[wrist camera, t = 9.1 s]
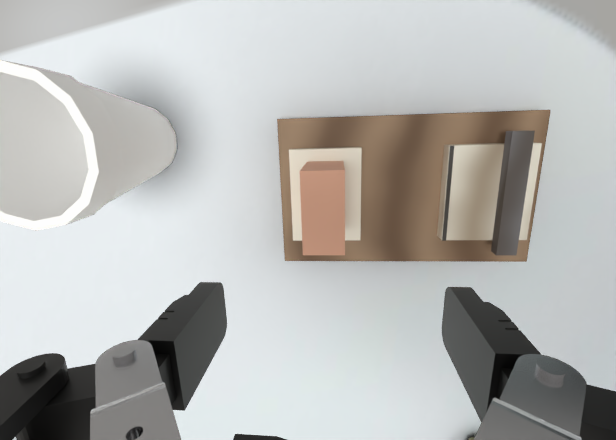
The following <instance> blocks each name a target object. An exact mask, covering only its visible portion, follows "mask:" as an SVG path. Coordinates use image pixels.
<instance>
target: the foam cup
mask: <svg viewBox="0 0 616 440" xmlns="http://www.w3.org/2000/svg"><path fill="white" fill-rule="evenodd" d="M176 151H177V141H176V133H175V131H174V129H173V128H172V126H171V124H170V122H169V120H168V119H167V118H166V117H165V116H163V115H162V114H161V113H160V112H158V111H157V110H156V109H153V108H151V107H149V106H146V105H143V104H140V103H137V102H134V101H131V100H128V99H126V98H123V97H120V96H117V95H114V94H111V93H108V92H105V91H103V90H100V89H97V88H94V87H91V86H88V85H85V84H82V83H80V82H78V81H77V80H75V79H74V78H73V77H72V76H69V75H65V74H61V73H57V72H54V71H50V70H46V69H42V68H38V67H33V66H28V65H23V64H18V63H13V62H7V61H2V60H0V220H1V221H2V222H5V223H9V224H13V225H16V226H20V227H24V228H28V229H32V230H35V231H37V230H42V229H47V228H52V227H57V226H62V225H67V224H70V223H72V222H75V221H78V220H80V219H83V218H86V217H89V216H91V215H94V214H95V213H96V212H97V211H98V210H100V209H101V208H102V207H103V206H104V205H105V204H107V203H109V202H110V201H112V200H114V199H116V198H117V197H119V196H121V195H122V194H124V193H126V192H128V191H129V190H131V189H133V188H135V187H136V186H138V185H140V184H142V183H143V182H145V181H147V180H149V179H150V178H152V177H154V176H156V175H157V174H159V173H160V172H162V171H163V170H164V169H166V168H167V167H168V166H169V165H170V164H171V163H172V162H173V159H174V156H175V154H176Z"/></svg>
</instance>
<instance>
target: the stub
mask: <svg viewBox="0 0 616 440" xmlns="http://www.w3.org/2000/svg"><path fill="white" fill-rule="evenodd" d="M361 154H362V148H361V147H344V148H306V149H290V150H289V164H290V186H291V208H292V229H293V241H302V248H303V255H345V240H360V235H361Z"/></svg>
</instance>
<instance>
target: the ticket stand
mask: <svg viewBox="0 0 616 440" xmlns="http://www.w3.org/2000/svg"><path fill="white" fill-rule="evenodd" d="M549 117H550V110H531V111H502V112H473V113H444V114H415V115H386V116H357V117H328V118H299V119H277V122H278V141H279V160H280V178H281V197H282V215H283V234H284V252H285V261H527V255H528V249H529V242H530V236H531V230H532V224H533V217H534V211H535V205H536V198H537V192H538V186H539V180H540V173H541V167H542V161H543V154H544V148H545V142H546V136H547V129H548V123H549ZM344 147H361V148H362V154H361V235H360V240H345V255H303V248H302V241H293V229H292V208H291V186H290V164H289V150H290V149H306V148H344Z"/></svg>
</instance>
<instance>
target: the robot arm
mask: <svg viewBox="0 0 616 440" xmlns="http://www.w3.org/2000/svg"><path fill="white" fill-rule="evenodd" d="M226 328H227V318H226V308H225V299H224V289H223V285H222V283H218V282H200V283H199V284H198V285H197V286H196V287H195V288H194V290H193V291H192V292H191V293H190V294H189V295H184V296H183V297H181V298H179V299H178V300H176V301H174V302H173V303H172V304H171V305H170V306H169V307H168V308H167V309H166V310H165V312H163V313H162V314H161V315H160V316H159V318H158V319H157V320H156V321H155V322H154V323H153V324H152V325H151V326H150V327H149V328H148V329H147V330H146V331H145V332H144V334H143V335H142V336H141V337H140V338H139V339H138V340H132V341H127V342H123V343H120V344H118V345H115V346H113V347H111V348H110V349H108V350H107V351H105V352H104V353H103V354H101V356H100V357H99V358H98V359H97V361H96V364H92V365H86V366H81V367H75V368H69V369H67V365H66V362H65V358H64V357H63V356H62V355H60V354H54V353H52V354H43V355H39V356H35V357H32V358H29V359H27V360H25V361H22V362H20V363H18V364H16V365H15V366H13V367H11V368H10V369H9V370H7V371H6V372H5V373H3V374H2V375H1V376H0V440H12V439H13V438H14V437H15V436H16V438H17V440H181V437H180V434H179V430H178V427H177V423H176V420H175V417H174V413H173V410H185V409H186V407H187V405H188V403H189V401H190V400H191V398H192V396H193V394H194V392H195V390H196V388H197V387H198V385H199V383H200V381H201V379H202V377H203V376H204V374H205V372H206V370H207V368H208V366H209V364H210V363H211V361H212V359H213V357H214V355H215V353H216V352H217V350H218V348H219V346H220V344H221V342H222V340H223V339H224V336H225V333H226ZM442 337H443V342H444V345H445V347H446V350H447V352H448V354H449V356H450V358H451V360H452V362H453V364H454V366H455V368H456V370H457V372H458V375H459V377H460V379H461V381H462V383H463V385H464V387H465V389H466V391H467V393H468V395H469V398H470V400H471V402H472V404H473V406H474V408H475V410H476V412H477V414H478V416H479V418H480V421H481V425H480V427H479V429H478V432H477V434H476V436H475V438H474V440H616V392H615V391H611V390H607V389H603V388H598V387H594V386H591V385H587V384H586V381H585V379H584V378H583V376H582V375H581V374H580V373H579V372H578V371H577V370H575V369H574V368H573V367H571V366H570V365H568V364H566V363H564V362H562V361H560V360H558V359H555V358H552V357H549V356H545V355H541V354H540V352H539V351H538V350H537V349H536V348H535V347H534V346H533V345H532V343H531V342H530V341H529V340H528V339H527V338H526V337H525V335H524V334H523V333H522V332H521V331H519V330H518V328H517V326H516V325H515V324H514V323H513V322H511V320H510V318H509V317H508V316H507V315H506V314H505V313H504V312H503V311H502V310H501V309H499V308H498V307H496V306H494V305H493V304H491V303H489V302H483V301H482V300H481V299H480V297H479V296H478V295H477V294H476V293H475V291H474V290H473V289H472V288H470V287H448V288H447V289H446V292H445V300H444V311H443V321H442ZM233 440H286V439H283V438H280V437H277V436H260V435H244V434H235V436H234V439H233Z"/></svg>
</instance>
